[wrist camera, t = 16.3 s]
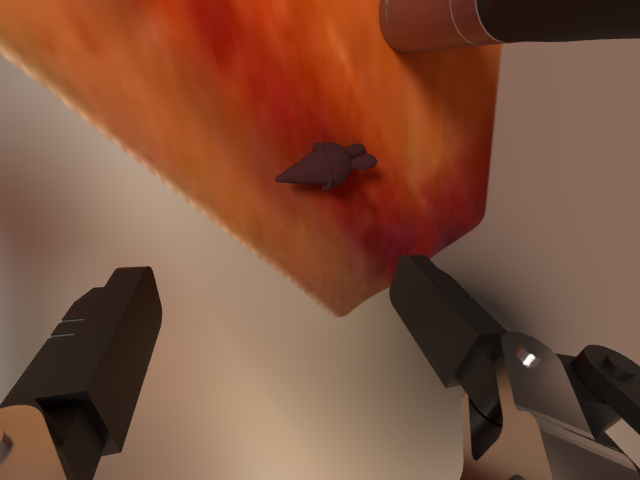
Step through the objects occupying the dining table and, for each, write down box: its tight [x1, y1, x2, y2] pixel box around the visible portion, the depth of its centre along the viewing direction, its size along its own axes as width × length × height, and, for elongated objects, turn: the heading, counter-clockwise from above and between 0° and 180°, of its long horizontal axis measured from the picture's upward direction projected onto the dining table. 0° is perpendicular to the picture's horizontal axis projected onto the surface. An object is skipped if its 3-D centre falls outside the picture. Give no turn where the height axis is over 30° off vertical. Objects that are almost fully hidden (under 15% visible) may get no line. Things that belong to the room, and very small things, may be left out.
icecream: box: [275, 142, 377, 191], centre depth 39 cm, size 7×7×15 cm
